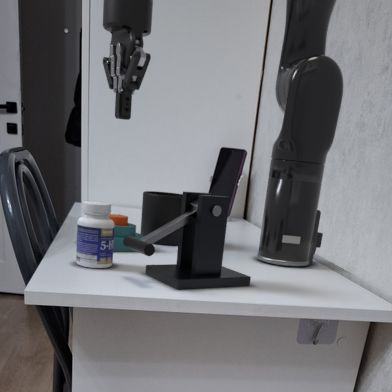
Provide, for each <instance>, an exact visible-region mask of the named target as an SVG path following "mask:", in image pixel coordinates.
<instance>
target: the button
mask: <svg viewBox="0 0 392 392" xmlns="http://www.w3.org/2000/svg"><path fill="white" fill-rule="evenodd" d="M109 219H111V220H112V221H113V222H114V225H116V226H128V223H129V216H128V215H123V214H116V213H115V214H113V213H112V214H110V215H109Z"/></svg>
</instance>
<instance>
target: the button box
mask: <svg viewBox="0 0 392 392" xmlns="http://www.w3.org/2000/svg"><path fill="white" fill-rule="evenodd" d="M126 236H132V237H134V238H137V239H141V238H143V237H144V235H141V233H139V232H137V224H134V223H131V222H128V226H116V225H114V245H113V252H136V251H135V250H132V249H130V248H128V247H125V246H124V244H123V240H124V238H125V237H126Z"/></svg>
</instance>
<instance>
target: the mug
mask: <svg viewBox="0 0 392 392" xmlns="http://www.w3.org/2000/svg"><path fill="white" fill-rule="evenodd" d="M182 196H183V193H177V192H167V191H156V190H155V191H154V190H153V191H152V190H151V191H150V190H146V191H143V192H142V203H141V204H142V205H141V218H140V219H141V221H140V234H141V235H144V236H146V235H148V234H150V233H151V232H153V231H155V230H157V229H159V228H160V227H162V226H164V225H166V224H167V223H169V222H171V221H173V220H174V219H176V218H178V217H180V216H181V207H182ZM179 230H180V228H179V229H177V230H175V231H174V232H172V233H170V234H168V235H167V236H165V237H163V238H161V239H160V240H158V241H156V242H154V243H153V244H156V245H164V246H178V241H179Z"/></svg>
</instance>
